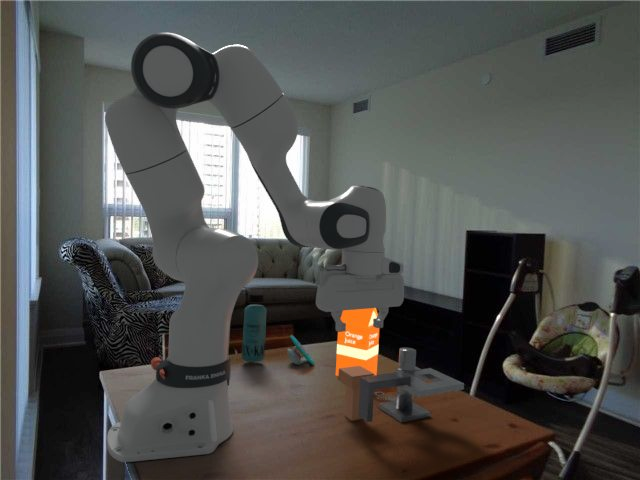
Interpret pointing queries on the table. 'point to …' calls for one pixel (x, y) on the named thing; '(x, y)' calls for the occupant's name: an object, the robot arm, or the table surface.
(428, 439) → the table surface
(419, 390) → the grey windowed jig
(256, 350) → the beverage bottle
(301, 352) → the ornament
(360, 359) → the orange juice
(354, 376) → the brown block
